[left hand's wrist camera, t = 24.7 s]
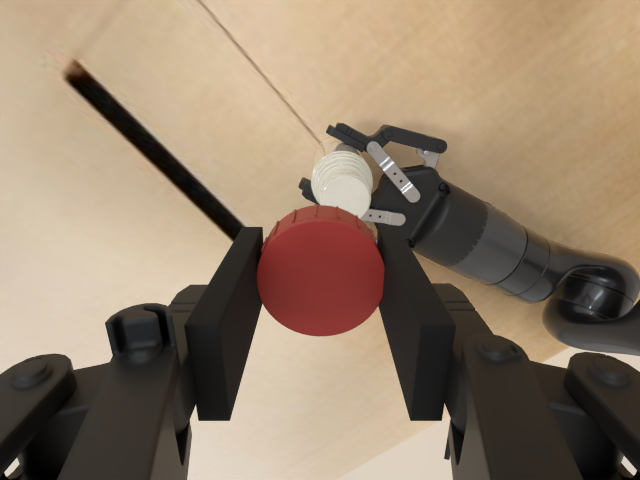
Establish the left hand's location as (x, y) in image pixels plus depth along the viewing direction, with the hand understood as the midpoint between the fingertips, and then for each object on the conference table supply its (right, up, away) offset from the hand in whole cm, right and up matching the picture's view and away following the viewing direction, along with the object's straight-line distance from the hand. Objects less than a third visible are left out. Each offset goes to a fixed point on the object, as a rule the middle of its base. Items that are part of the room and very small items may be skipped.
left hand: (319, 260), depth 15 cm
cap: (0, -1, -1) cm, 2 cm away
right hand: (0, +9, +21) cm, 22 cm away
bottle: (+2, +10, +27) cm, 29 cm away
